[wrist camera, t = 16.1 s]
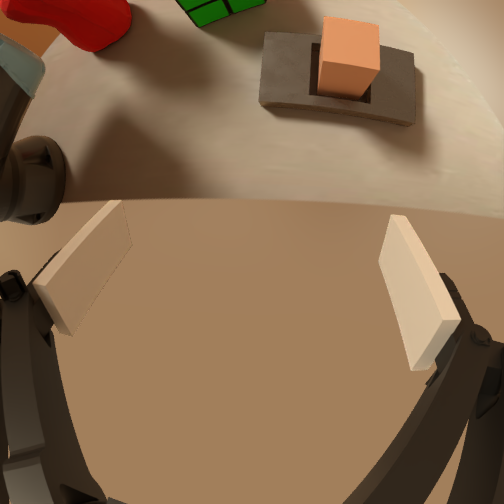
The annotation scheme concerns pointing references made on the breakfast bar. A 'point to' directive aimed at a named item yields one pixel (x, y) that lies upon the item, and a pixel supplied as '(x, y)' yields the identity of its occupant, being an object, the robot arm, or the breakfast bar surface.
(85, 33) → the water bottle
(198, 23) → the puzzle cube
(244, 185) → the breakfast bar surface
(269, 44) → the rail
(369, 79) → the peg block
